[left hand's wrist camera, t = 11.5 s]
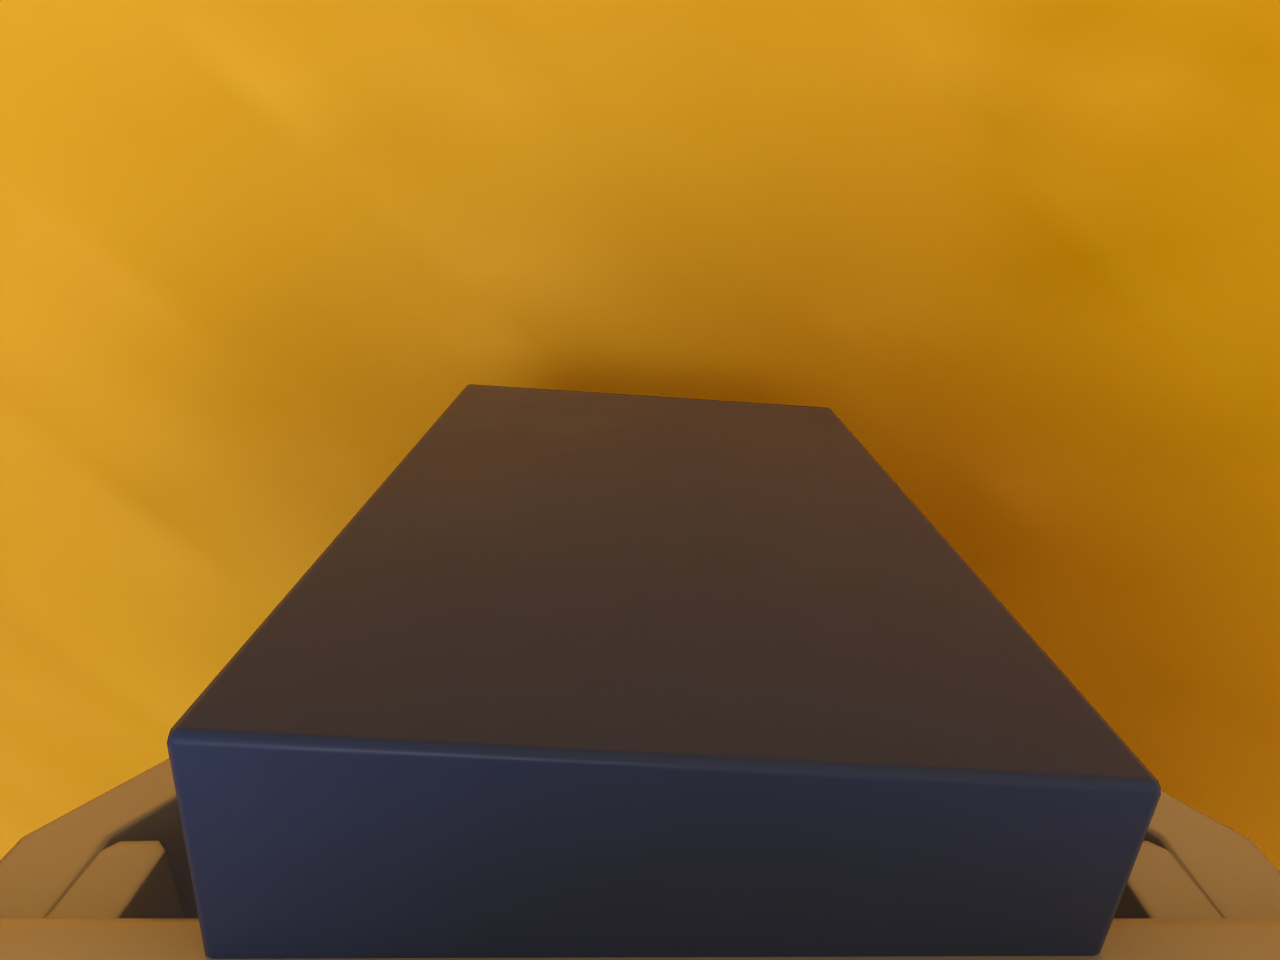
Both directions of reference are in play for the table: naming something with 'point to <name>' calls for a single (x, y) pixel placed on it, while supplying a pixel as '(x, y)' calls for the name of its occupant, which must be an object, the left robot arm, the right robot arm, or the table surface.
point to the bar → (648, 714)
